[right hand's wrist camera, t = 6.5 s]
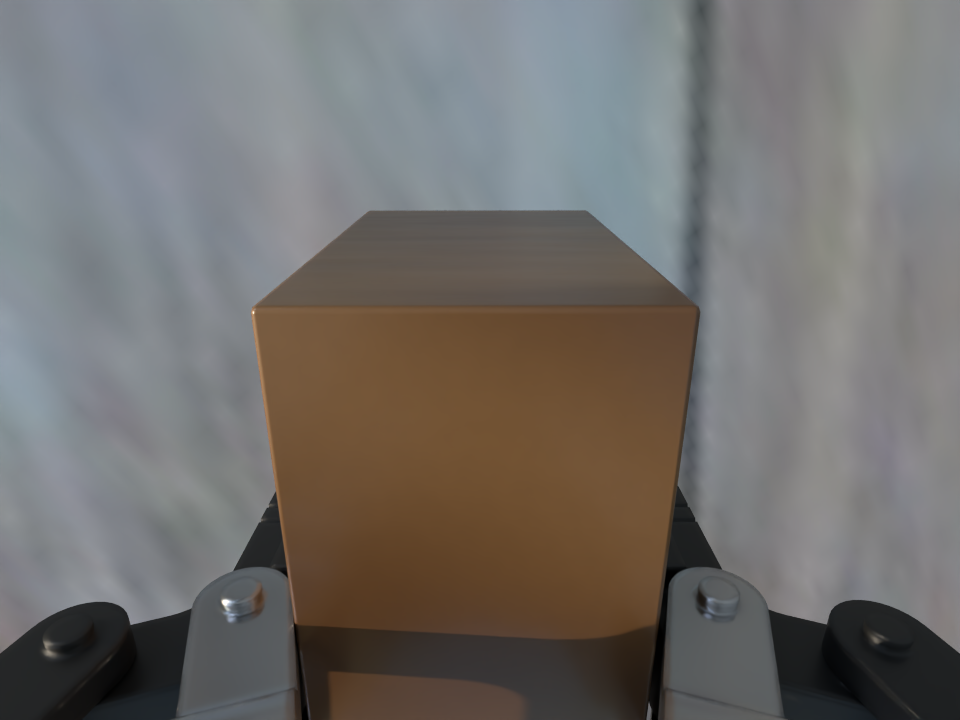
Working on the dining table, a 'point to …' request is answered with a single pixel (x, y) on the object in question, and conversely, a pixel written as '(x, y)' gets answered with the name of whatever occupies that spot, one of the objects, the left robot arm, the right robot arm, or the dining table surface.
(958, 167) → the dining table surface
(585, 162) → the dining table surface
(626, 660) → the bar
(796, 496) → the dining table surface
